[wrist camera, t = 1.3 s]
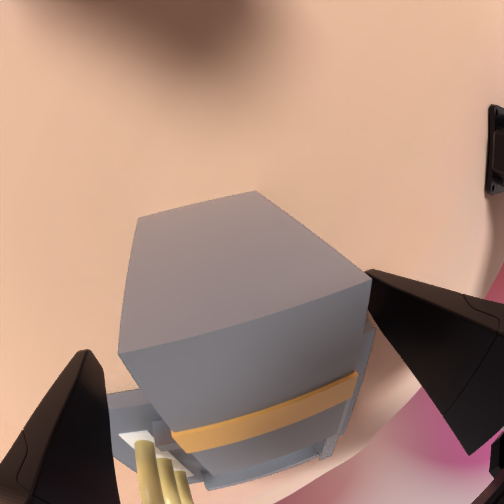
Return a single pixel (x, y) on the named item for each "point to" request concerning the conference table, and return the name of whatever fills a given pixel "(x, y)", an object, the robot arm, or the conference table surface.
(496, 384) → the robot arm
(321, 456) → the header socket
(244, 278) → the plug
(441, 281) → the conference table surface
